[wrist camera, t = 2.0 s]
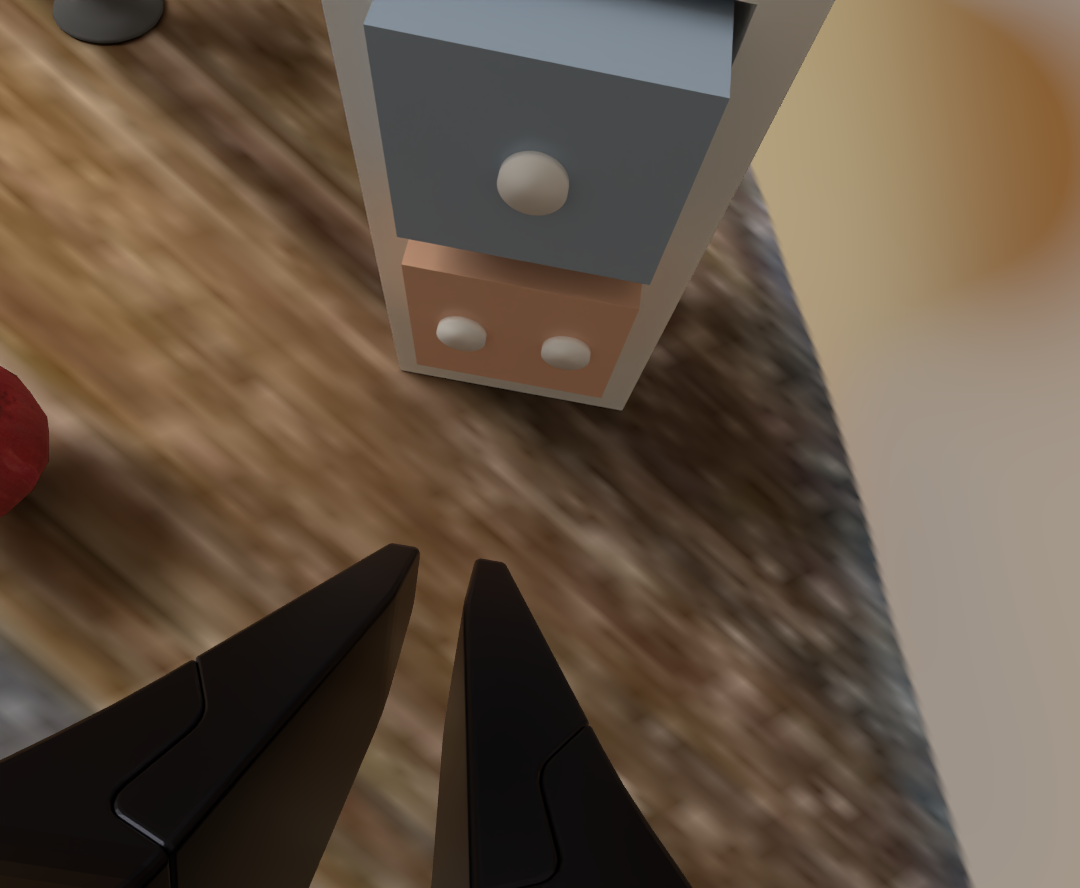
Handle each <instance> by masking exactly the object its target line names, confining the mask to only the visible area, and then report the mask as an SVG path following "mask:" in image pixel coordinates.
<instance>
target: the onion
mask: <svg viewBox="0 0 1080 888" xmlns="http://www.w3.org/2000/svg"><path fill="white" fill-rule="evenodd" d="M48 461H49V428H48V420H47V416H46V415H45V413H44V412H43V410H42V409H41V407H40V406H39V404H38V403H37V401H36V400H35V398H34V397H33V395H32V394H31V393H30V391H29V390H28V389H27V388H26V386H25V385H24V384H23V383H22V382H21V380H20V379H19V378H18V377H17V376H16V375H15V374H13V373H11V372H10V371H8V370H6V369H4V368H3V367H1V366H0V517H2V516H4V515H6V514H7V513H8V512H9V511H10V510H12V509H13V508H14V507H15V506H16V505H17V504H18V503H19V502H20V501H21V500H22V499H23V498H25V497H26V496H27V495H28V494H29V493H30V492H31V491H32V490H33V489H34V487H35V485H36V483H37V481H38V480H39V478H40V476H41V474H42V472H43V470H44V469H45V467H46V465H47V463H48Z"/></svg>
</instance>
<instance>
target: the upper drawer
mask: <svg viewBox="0 0 1080 888" xmlns="http://www.w3.org/2000/svg"><path fill="white" fill-rule="evenodd" d="M734 1H735V0H373V1H372V3H371V6H370V9H369V11H368V14H367V16H366V19H365V21H364V24H363V26H364V32H365V38H366V45H367V51H368V57H369V64H370V70H371V76H372V83H373V89H374V95H375V102H376V108H377V114H378V121H379V127H380V133H381V139H382V146H383V152H384V158H385V165H386V171H387V177H388V184H389V190H390V196H391V203H392V209H393V215H394V222H395V228H396V234H397V237H400V238H405V239H410V240H416V241H421V242H426V243H431V244H436V245H442V246H447V247H452V248H457V249H463V250H468V251H473V252H478V253H484V254H489V255H494V256H499V257H505V258H510V259H515V260H520V261H526V262H531V263H536V264H541V265H547V266H552V267H557V268H562V269H568V270H573V271H578V272H583V273H589V274H594V275H599V276H604V277H610V278H615V279H620V280H625V281H631V282H636V283H641V284H646V285H650V283H651V281H652V279H653V276H654V274H655V272H656V269H657V267H658V265H659V262H660V260H661V258H662V255H663V253H664V251H665V248H666V246H667V244H668V241H669V239H670V237H671V234H672V232H673V230H674V227H675V225H676V223H677V220H678V218H679V216H680V213H681V211H682V209H683V206H684V204H685V202H686V199H687V197H688V195H689V192H690V190H691V188H692V185H693V183H694V181H695V178H696V176H697V174H698V171H699V169H700V167H701V164H702V162H703V160H704V157H705V155H706V153H707V150H708V148H709V146H710V143H711V141H712V139H713V136H714V134H715V132H716V129H717V127H718V125H719V122H720V120H721V118H722V115H723V113H724V111H725V108H726V106H727V104H728V101H729V99H730V83H731V63H732V42H733V22H734Z"/></svg>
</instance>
